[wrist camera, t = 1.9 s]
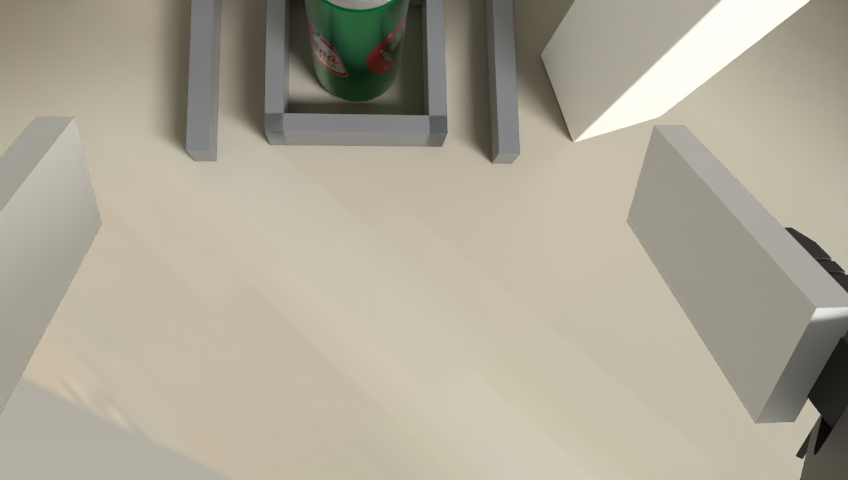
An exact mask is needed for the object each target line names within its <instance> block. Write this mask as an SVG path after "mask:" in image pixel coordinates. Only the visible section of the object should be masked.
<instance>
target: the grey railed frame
mask: <svg viewBox="0 0 848 480" xmlns="http://www.w3.org/2000/svg"><path fill="white" fill-rule="evenodd" d="M290 1H301V2H304V0H267V13H266V66H265V119H264V131H265V133H266V136H267V138H268V141H269V143H270V145H342V146H438V147H442V145H443V142H444V140H445V137H446V135H447V100H446V65H445V31H444V0H410V1H409V5H422V40H423V84H424V115H370V114H305V113H288V83H289V4H290ZM485 1H486V26H487V51H488V76H489V101H490V126H491V151H492V163H512V162H513V161H514V160H515V159H516V158H517V156H518V155H519V154H520V144H519V123H518V102H517V81H516V60H515V39H514V18H513V0H485ZM220 26H221V0H192V4H191V29H190V55H189V80H188V106H187V131H186V151H187V152H188V154H189V155H190V156H191V157H192V158H193V160H194V161H216V154H217V122H218V90H219V58H220Z"/></svg>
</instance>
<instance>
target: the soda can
mask: <svg viewBox="0 0 848 480" xmlns="http://www.w3.org/2000/svg"><path fill="white" fill-rule="evenodd" d="M409 1H410V0H304V2H305V9H306V16H307V23H308V30H309V37H310V44H311V50H312V57H313V64H314V69H315V73H316V75H317V77H318V80H319V81H320V82H321V84H322V85H323V86H324V87H325V88H326V90H328V91H329V92H330V93H331V94H333V95H335V96H337V97H338V98H341V99H344V100H348V101H354V102H361V101H368V100H372V99H374V98H377V97H379V96H380V95H382V94H383V93H385V92H386V91H387V90H388V89H389V88H390V87H391V86H392V84H393V83H394V81H395V79H396V77H397V74H398V71H399V65H400V59H401V52H402V46H403V39H404V33H405V27H406V20H407V14H408V7H409Z"/></svg>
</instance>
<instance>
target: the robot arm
mask: <svg viewBox="0 0 848 480" xmlns="http://www.w3.org/2000/svg"><path fill="white" fill-rule="evenodd" d="M627 223H628V224H629V226H630V227H631V229H632V231H633V232H634V234H635V235H636V237H637V238H638V240H639V242H640V243H641V245H642V246H643V248H644V249H645V251H646V253H647V254H648V256H649V257H650V259H651V260H652V262H653V263H654V265H655V267H656V268H657V270H658V271H659V273H660V274H661V276H662V278H663V279H664V281H665V282H666V284H667V285H668V287H669V289H670V290H671V292H672V293H673V295H674V296H675V298H676V300H677V301H678V303H679V304H680V306H681V307H682V309H683V311H684V312H685V314H686V315H687V317H688V318H689V320H690V322H691V323H692V325H693V326H694V328H695V329H696V331H697V333H698V334H699V336H700V337H701V339H702V340H703V342H704V344H705V345H706V347H707V348H708V350H709V351H710V353H711V355H712V356H713V358H714V359H715V361H716V362H717V364H718V366H719V367H720V369H721V370H722V372H723V373H724V375H725V377H726V378H727V380H728V381H729V383H730V384H731V386H732V388H733V389H734V391H735V392H736V394H737V395H738V397H739V399H740V400H741V402H742V403H743V405H744V406H745V408H746V410H747V411H748V413H749V414H750V416H751V417H752V419H753V421H754V422H755V423H776V422H795V420H796V418H797V416H798V415H799V413H800V411H801V410H802V408H803V406H804V404H805V403H806V401H807V399H808V398H809V400H810V401H811V402H812V404H813V405H814V406H815V408H816V409H817V410H818V412H819V413H820V414H821V415H820V417H819V419H818V420H817V422H816V423H815V425H814V427H813V428H812V430H811V432H810V433H809V435H808V437H807V438H806V440H805V441H804V443H803V445H802V446H801V448H800V450H799V451H798V453H797V455H796V456H797V457H799V458H801V459H803V457H804V456H805V455H806V457H805V461H804V466H803V470H802V474H801V478H800V480H848V275H845V274H844V272H845V271H844V270H843V269H842V268H841V267H840V266H839V265H838V264H837V263H836V262H835V261H831V257H830V256H829V255H828V254H827V253H826V252H825V251H824V250H823V249H822V248H821V247H820V246H819V245H818V244H817V243H816V242H814V241H813V240H811V239H809V238H808V237H806V236H804V235H803V234H801V233H799V232H798V231H796V230H794V229H793V228H784V227H783V226H782V225H781V224H780V223H779V222H778V221H777V220H776V219H775V218H774V217H773V216H772V215H771V214H770V213H769V212H768V211H767V210H766V209H765V208H764V207H763V206H762V205H761V204H760V203H759V202H758V201H757V200H756V198H755V197H754V196H753V195H752V194H751V193H750V192H749V191H748V190H747V189H746V188H745V187H744V186H743V185H742V184H741V183H740V182H739V181H738V180H737V179H736V178H735V177H734V176H733V175H732V174H731V173H730V172H729V171H728V170H727V169H726V168H725V167H724V166H723V165H722V164H721V163H720V162H719V161H718V159H717V158H716V157H715V156H714V155H713V154H712V153H711V152H710V151H709V150H708V149H707V148H706V147H705V146H704V145H703V144H702V143H701V142H700V141H699V140H698V139H697V138H696V137H695V136H694V135H693V134H692V133H691V132H690V131H689V130H688V129H687V128H686V127H685V126H684V125H654V127H653V131H652V134H651V138H650V141H649V145H648V148H647V152H646V155H645V159H644V162H643V166H642V169H641V173H640V176H639V180H638V183H637V187H636V190H635V194H634V197H633V201H632V204H631V208H630V211H629V215H628V218H627ZM101 225H102V221H101V217H100V213H99V210H98V206H97V202H96V198H95V194H94V190H93V187H92V183H91V179H90V175H89V171H88V167H87V164H86V160H85V156H84V152H83V148H82V144H81V141H80V137H79V133H78V129H77V125H76V121H75V118H74V117H39V116H37V117H36V118H35V119H34V120H33V121H32V122H31V123H30V124H29V126H28V127H27V128H26V129H25V130H24V131H23V132H22V133H21V135H20V136H19V137H18V138H17V139H16V140H15V141H14V142H13V144H12V145H11V146H10V147H9V148H8V149H7V150H6V151H5V153H4V154H3V155H2V156H1V157H0V415H1V413H2V411H3V409H4V407H5V405H6V403H7V401H8V400H9V398H10V396H11V394H12V392H13V390H14V388H15V387H16V385H17V383H18V381H19V379H20V377H21V375H22V373H23V372H24V370H25V368H26V366H27V364H28V362H29V360H30V358H31V356H32V355H33V353H34V351H35V349H36V347H37V345H38V343H39V341H40V340H41V338H42V336H43V334H44V332H45V330H46V328H47V326H48V324H49V323H50V321H51V319H52V317H53V315H54V313H55V311H56V309H57V308H58V306H59V304H60V302H61V300H62V298H63V296H64V294H65V292H66V291H67V289H68V287H69V285H70V283H71V281H72V279H73V277H74V276H75V274H76V272H77V270H78V268H79V266H80V264H81V262H82V260H83V259H84V257H85V255H86V253H87V251H88V249H89V247H90V245H91V244H92V242H93V240H94V238H95V236H96V234H97V232H98V230H99V229H100V227H101Z"/></svg>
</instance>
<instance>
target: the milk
mask: <svg viewBox="0 0 848 480" xmlns="http://www.w3.org/2000/svg"><path fill="white" fill-rule="evenodd" d="M809 1H810V0H575V1H574V2H573V4H572V6H571V7H570V9H569V10H568V12H567V14H566V15H565V17H564V18H563V20H562V22H561V23H560V25H559V26H558V28H557V30H556V31H555V33H554V34H553V36H552V38H551V39H550V41H549V42H548V44H547V46H546V47H545V49H544V50H543V52H542V54H541V57H542V60H543V62H544V65H545V68H546V70H547V73H548V76H549V79H550V81H551V84H552V87H553V89H554V92H555V95H556V97H557V100H558V103H559V105H560V108H561V111H562V114H563V116H564V119H565V122H566V124H567V127H568V130H569V132H570V135H571V138H572V140H573V142H577V141H581V140H584V139H587V138H591V137H594V136H597V135H601V134H604V133H607V132H611V131H614V130H617V129H621V128H624V127H627V126H631V125H634V124H637V123H641V122H644V121H647V120H651V119H654V118H657V117H660V116H661V115H662V114H664V113H665V112H666V111H668V110H669V109H670V108H672V107H673V106H674V105H675V104H677V103H678V102H679V101H681V100H682V99H683V98H684V97H686V96H687V95H688V94H690V93H691V92H692V91H694V90H695V89H696V88H697V87H699V86H700V85H701V84H703V83H704V82H705V81H706V80H708V79H709V78H710V77H712V76H713V75H714V74H716V73H717V72H718V71H719V70H721V69H722V68H723V67H725V66H726V65H727V64H728V63H730V62H731V61H732V60H734V59H735V58H736V57H738V56H739V55H740V54H741V53H743V52H744V51H745V50H747V49H748V48H749V47H750V46H752V45H753V44H754V43H756V42H757V41H758V40H760V39H761V38H762V37H763V36H765V35H766V34H767V33H769V32H770V31H771V30H772V29H774V28H775V27H776V26H778V25H779V24H780V23H782V22H783V21H784V20H785V19H787V18H788V17H789V16H791V15H792V14H793V13H794V12H796V11H797V10H798V9H800V8H801V7H802V6H804V5H805V4H806V3H807V2H809Z"/></svg>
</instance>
